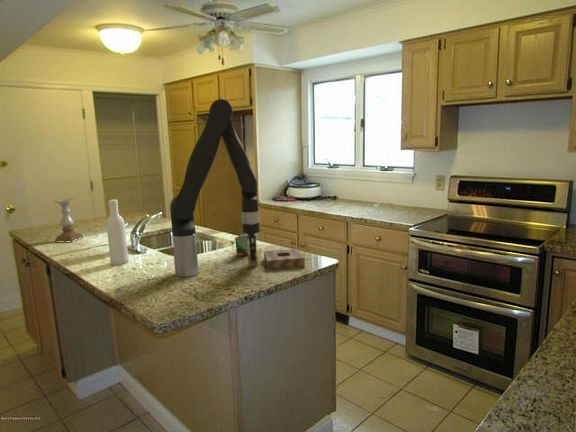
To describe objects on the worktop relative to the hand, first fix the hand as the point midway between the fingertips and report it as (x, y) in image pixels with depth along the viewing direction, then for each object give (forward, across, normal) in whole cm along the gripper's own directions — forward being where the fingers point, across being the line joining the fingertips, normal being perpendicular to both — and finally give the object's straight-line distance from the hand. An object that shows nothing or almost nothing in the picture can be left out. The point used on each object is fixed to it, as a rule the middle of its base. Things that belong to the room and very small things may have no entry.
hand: (252, 257), depth 182 cm
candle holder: (+4, -79, -103) cm, 130 cm away
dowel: (+4, 0, 0) cm, 4 cm away
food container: (+4, -21, -2) cm, 22 cm away
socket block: (+4, -2, +14) cm, 15 cm away
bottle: (+4, -21, -61) cm, 65 cm away
